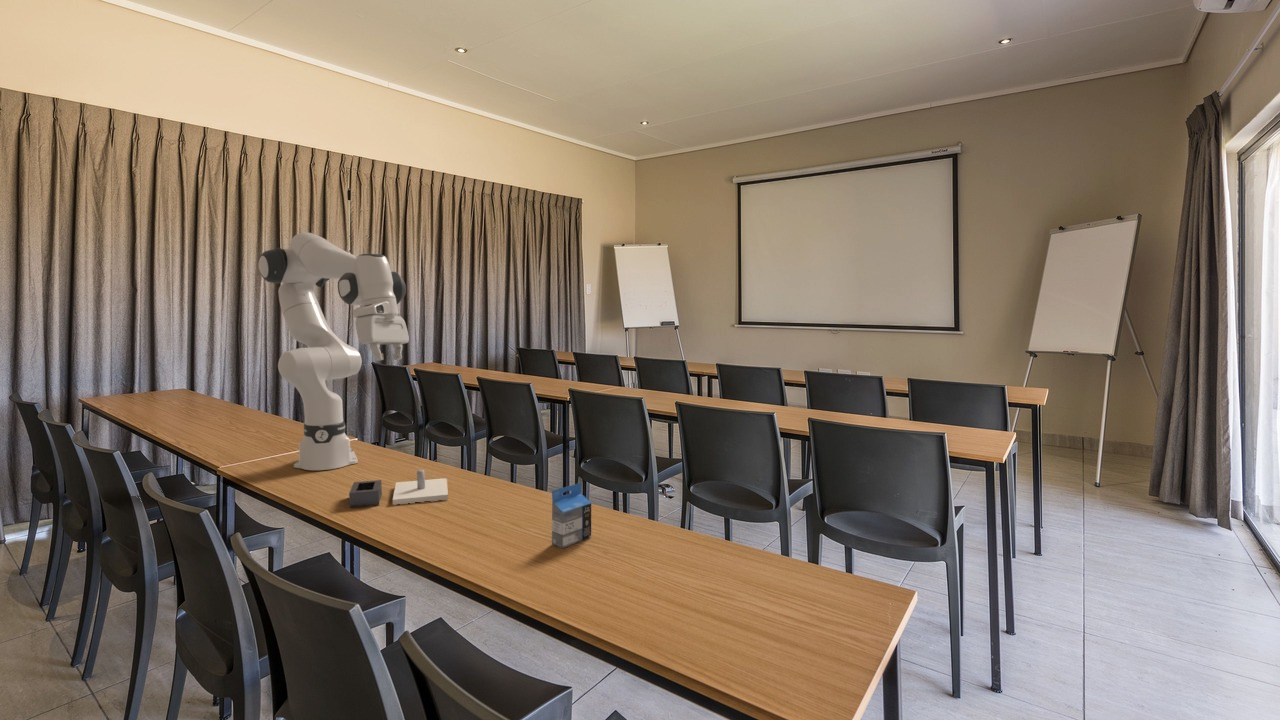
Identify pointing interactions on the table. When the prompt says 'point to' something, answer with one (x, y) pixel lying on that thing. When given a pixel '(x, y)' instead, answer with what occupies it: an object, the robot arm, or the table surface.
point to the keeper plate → (420, 490)
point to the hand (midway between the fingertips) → (389, 360)
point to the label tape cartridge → (570, 516)
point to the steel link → (365, 493)
